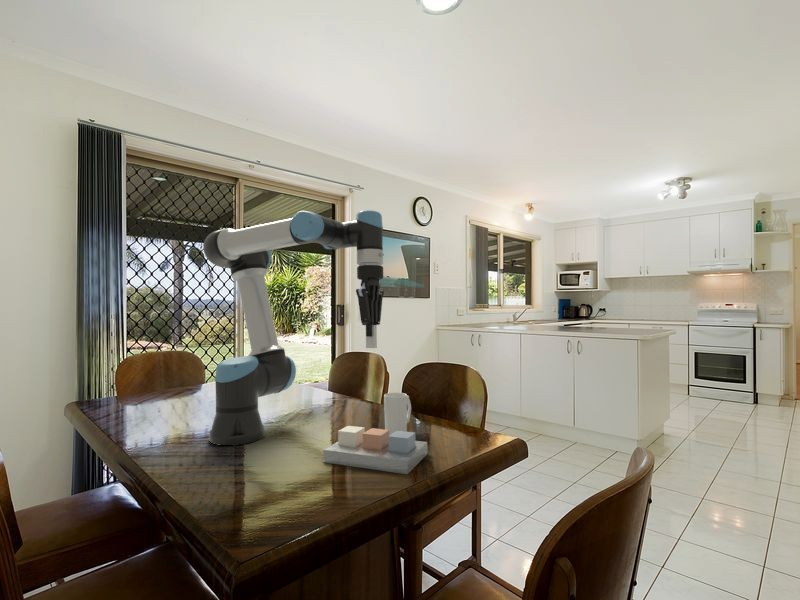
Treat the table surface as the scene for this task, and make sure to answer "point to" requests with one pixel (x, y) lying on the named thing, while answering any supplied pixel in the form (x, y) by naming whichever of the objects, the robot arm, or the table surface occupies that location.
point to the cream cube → (351, 436)
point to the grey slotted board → (375, 457)
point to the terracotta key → (376, 439)
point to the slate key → (402, 442)
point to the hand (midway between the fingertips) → (371, 347)
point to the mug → (396, 412)
